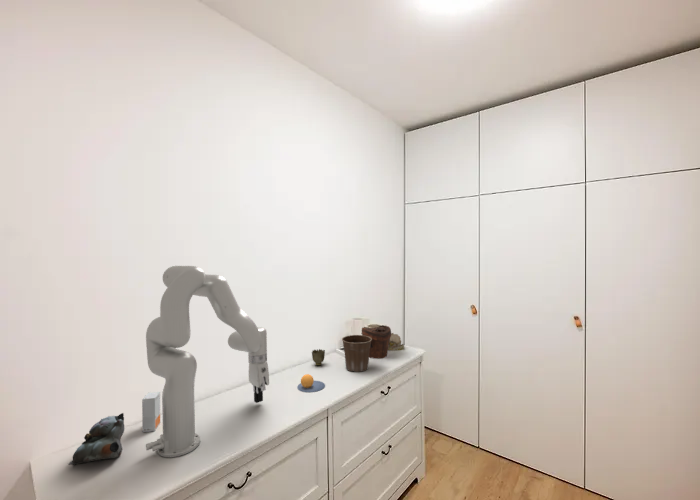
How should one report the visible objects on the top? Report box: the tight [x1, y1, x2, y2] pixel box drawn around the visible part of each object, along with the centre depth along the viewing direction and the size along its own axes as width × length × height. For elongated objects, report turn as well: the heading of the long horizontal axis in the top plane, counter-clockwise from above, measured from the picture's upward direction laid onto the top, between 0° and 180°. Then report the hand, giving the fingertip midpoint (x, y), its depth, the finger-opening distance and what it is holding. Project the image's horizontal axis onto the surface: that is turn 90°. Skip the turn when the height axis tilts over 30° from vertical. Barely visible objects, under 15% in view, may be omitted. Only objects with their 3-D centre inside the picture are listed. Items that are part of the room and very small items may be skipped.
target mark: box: [296, 380, 326, 393], centre depth 158 cm, size 13×13×1 cm
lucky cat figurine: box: [67, 412, 126, 466], centre depth 106 cm, size 15×12×14 cm
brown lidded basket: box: [360, 324, 392, 359], centre depth 203 cm, size 18×20×18 cm
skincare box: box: [141, 391, 161, 433], centre depth 123 cm, size 6×4×12 cm
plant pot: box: [341, 334, 372, 373], centre depth 181 cm, size 16×16×16 cm
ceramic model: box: [388, 332, 405, 351], centre depth 217 cm, size 14×11×10 cm
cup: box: [311, 348, 326, 367], centre depth 187 cm, size 8×7×8 cm
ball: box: [300, 373, 315, 388], centre depth 156 cm, size 6×6×6 cm
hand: (258, 401), depth 140 cm, fingers closed
